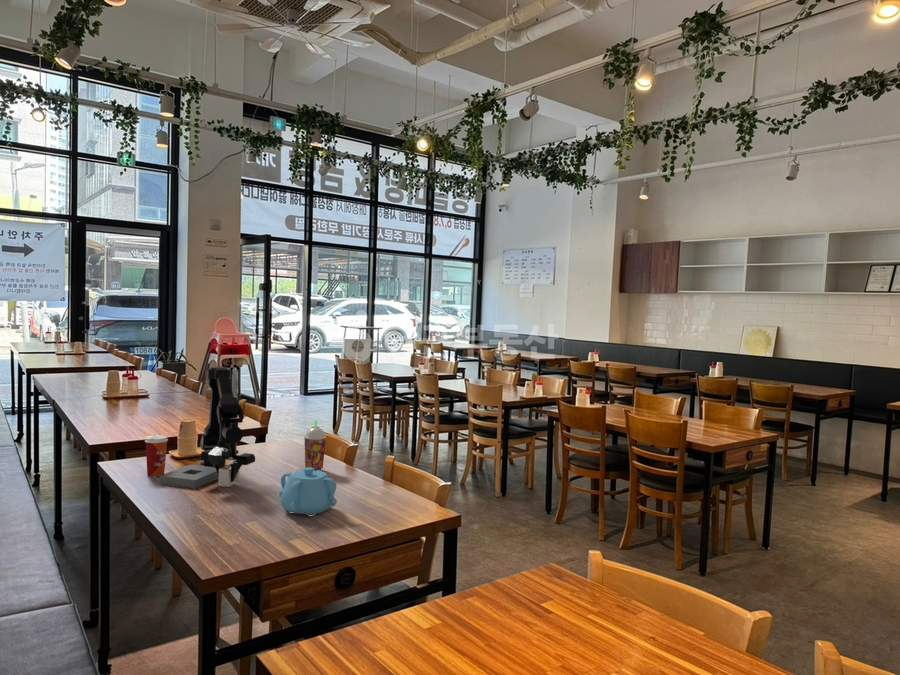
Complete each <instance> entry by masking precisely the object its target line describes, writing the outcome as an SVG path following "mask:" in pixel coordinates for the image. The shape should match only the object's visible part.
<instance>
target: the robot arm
mask: <svg viewBox="0 0 900 675" xmlns="http://www.w3.org/2000/svg"><path fill="white" fill-rule="evenodd" d="M205 378H206V380H207V383H208V386H209V387H210V398H209V399H210V401H209V406H210V407H209V416H208V417H209V418H208V423H207V425H206V426H205V427H204V428H203V434H201V435H202V436H201V439H200V449H201V450H202V451H201V452H200V454H199V461H202V462H200V465H202V466H203V465H204V466H210V467H214V468H216V470H217V473H218V476H219V469H220V468H222V467H224V466H226V461H227V460H228V461H232V462H231V463H229V467H231V482H233V481H234V479H235V480H236V478H237V475H238V473H239V471H240V469H241V467H242V466H248V465H250V464H253V463H255V462H256V456H255V454H254V453H250V452H249V453H247V452H244V453H241V454H239V450H237V446H238V445H237V444H238V443H239V442H240V441H242V439H243V437H244V432H243V430H242V429H241V428H240V427H239V424H240V423H243V420H244V418H245V417H244V411H243V408H242V405H241V404H240V402H239V399H238V398H237V397H236V396H234V393H233V388H232V382H231V379H232V369H228V367H227V366H223V367H222V366H210V367H209V368H208V369H206V371H205Z"/></svg>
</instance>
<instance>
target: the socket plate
mask: <svg viewBox="0 0 900 675" xmlns="http://www.w3.org/2000/svg"><path fill="white" fill-rule="evenodd" d="M215 480H216V481H217V480H219V476H218V473H217V470H216V468H215V466H206V465H204V466H203V465H196V464H188V465H185V466H182V467H180V468H177V469H174V470H171V471H168V472H166V473H164V474H163V475H160V476H159V485H163V484H167V485H166V486H171V485H173V487H178V486H181V487H180V488H186V487H189V488H188V489H194V488H196V489H198V488H200V487H202V486H204V485H207V484H209V483H211V482H213V481H215ZM197 487H198V488H197Z"/></svg>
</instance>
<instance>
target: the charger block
mask: <svg viewBox="0 0 900 675" xmlns="http://www.w3.org/2000/svg"><path fill="white" fill-rule="evenodd" d="M217 480H218V483H217V486H219V487H227V488H229V487H231V486H234V485H236V478H235V479H234V481H233V482H231V467H230V465H229V466H228V465H225V466H224V467H222V468H220V469H219V478H218V479H217Z"/></svg>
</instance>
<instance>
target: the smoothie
mask: <svg viewBox="0 0 900 675" xmlns="http://www.w3.org/2000/svg"><path fill="white" fill-rule="evenodd" d="M317 422H318V421H317V419H316V420H315V419H314V427H311V428H309V429H308V430H307V431H306V433H305V435H304V436H303V438H304V468H307V467H311V468H314V471H317V470H321V469H323V468H324V461H325V449H326V441H327V440H326V439H327V435H326V433H325V431H324V430H323V429H322V428H320V427H318V425H317V424H318V423H317ZM321 471H322V470H321Z"/></svg>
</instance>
